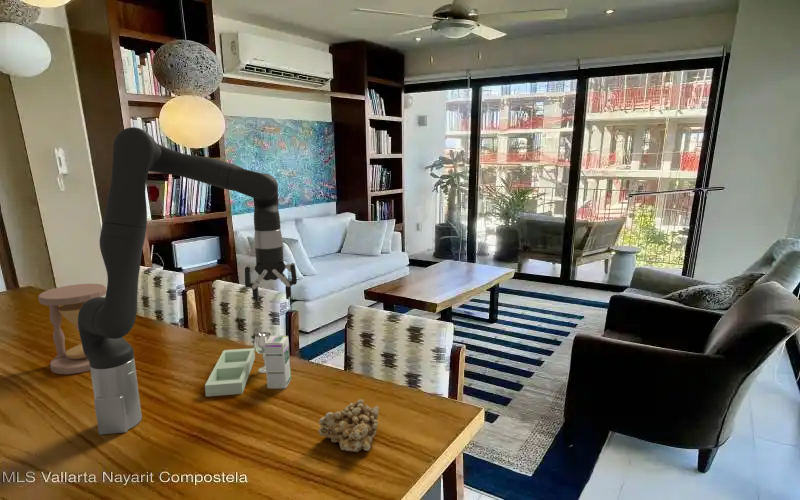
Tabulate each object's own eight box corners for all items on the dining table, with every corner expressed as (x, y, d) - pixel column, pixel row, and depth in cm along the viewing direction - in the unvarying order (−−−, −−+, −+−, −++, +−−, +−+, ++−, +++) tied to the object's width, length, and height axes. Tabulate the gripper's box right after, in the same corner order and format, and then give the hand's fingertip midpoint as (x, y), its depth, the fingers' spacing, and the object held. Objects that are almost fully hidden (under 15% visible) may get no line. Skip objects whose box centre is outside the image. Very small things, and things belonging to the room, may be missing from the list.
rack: (242, 393, 125) (241, 382, 124) (205, 396, 123) (204, 385, 123) (255, 357, 148) (254, 348, 147) (224, 359, 146) (223, 350, 146)
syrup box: (286, 388, 128) (283, 343, 125) (266, 388, 128) (263, 342, 125) (291, 379, 133) (289, 335, 130) (272, 379, 133) (269, 335, 130)
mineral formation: (313, 440, 104) (357, 409, 115) (352, 472, 96) (395, 436, 107) (314, 413, 101) (359, 384, 112) (354, 444, 93) (398, 410, 105)
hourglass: (127, 352, 152) (118, 284, 147) (87, 376, 135) (75, 299, 130) (81, 350, 154) (70, 282, 149) (36, 373, 137) (22, 297, 132)
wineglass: (277, 366, 142) (275, 331, 140) (270, 374, 136) (268, 338, 134) (260, 365, 143) (258, 331, 140) (253, 373, 137) (250, 338, 135)
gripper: (240, 248, 117) (245, 305, 121) (293, 246, 120) (297, 301, 124) (244, 243, 125) (249, 297, 128) (295, 241, 127) (298, 294, 131)
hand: (272, 299), depth 126 cm, fingers open, 8 cm apart
